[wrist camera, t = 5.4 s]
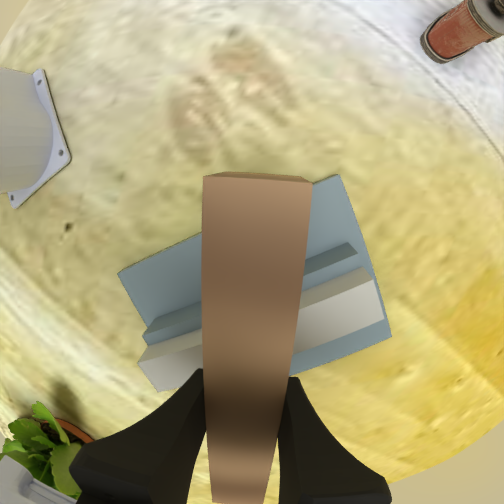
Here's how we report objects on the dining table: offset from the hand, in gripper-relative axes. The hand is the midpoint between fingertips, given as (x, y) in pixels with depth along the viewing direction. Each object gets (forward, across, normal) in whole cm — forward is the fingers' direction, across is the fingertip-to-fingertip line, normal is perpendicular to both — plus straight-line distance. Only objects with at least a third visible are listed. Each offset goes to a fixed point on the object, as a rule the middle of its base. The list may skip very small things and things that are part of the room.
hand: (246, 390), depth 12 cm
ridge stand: (+9, 0, 0) cm, 9 cm away
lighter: (+9, -13, -22) cm, 27 cm away
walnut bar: (+2, 0, 0) cm, 2 cm away
